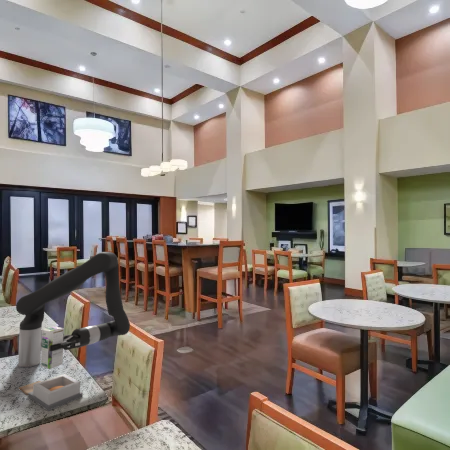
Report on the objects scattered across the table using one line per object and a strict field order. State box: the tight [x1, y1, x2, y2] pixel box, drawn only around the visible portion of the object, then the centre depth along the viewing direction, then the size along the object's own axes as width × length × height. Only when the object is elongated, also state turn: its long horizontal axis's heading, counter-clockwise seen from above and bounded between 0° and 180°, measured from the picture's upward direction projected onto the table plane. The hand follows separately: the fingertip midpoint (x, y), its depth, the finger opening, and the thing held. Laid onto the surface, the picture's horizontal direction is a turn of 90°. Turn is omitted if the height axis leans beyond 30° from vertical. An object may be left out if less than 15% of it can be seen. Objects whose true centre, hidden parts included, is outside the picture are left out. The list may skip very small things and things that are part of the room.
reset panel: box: [27, 373, 84, 412], centre depth 127 cm, size 16×13×6 cm
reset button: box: [49, 386, 64, 391], centre depth 127 cm, size 6×6×2 cm
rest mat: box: [18, 380, 42, 396], centre depth 134 cm, size 8×8×1 cm
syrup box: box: [40, 325, 64, 370], centre depth 129 cm, size 6×6×14 cm
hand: (45, 346), depth 127 cm, fingers closed on syrup box, 6 cm apart
